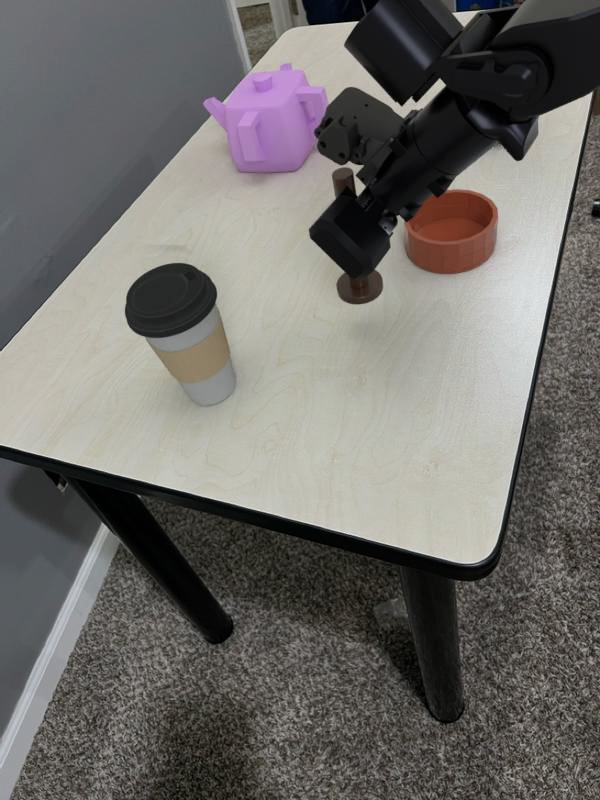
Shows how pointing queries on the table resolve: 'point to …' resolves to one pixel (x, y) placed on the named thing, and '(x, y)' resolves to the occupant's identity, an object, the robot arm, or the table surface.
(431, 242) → the bowl
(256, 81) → the teakettle
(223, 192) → the table surface
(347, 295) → the dark brown rod
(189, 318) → the coffee cup
